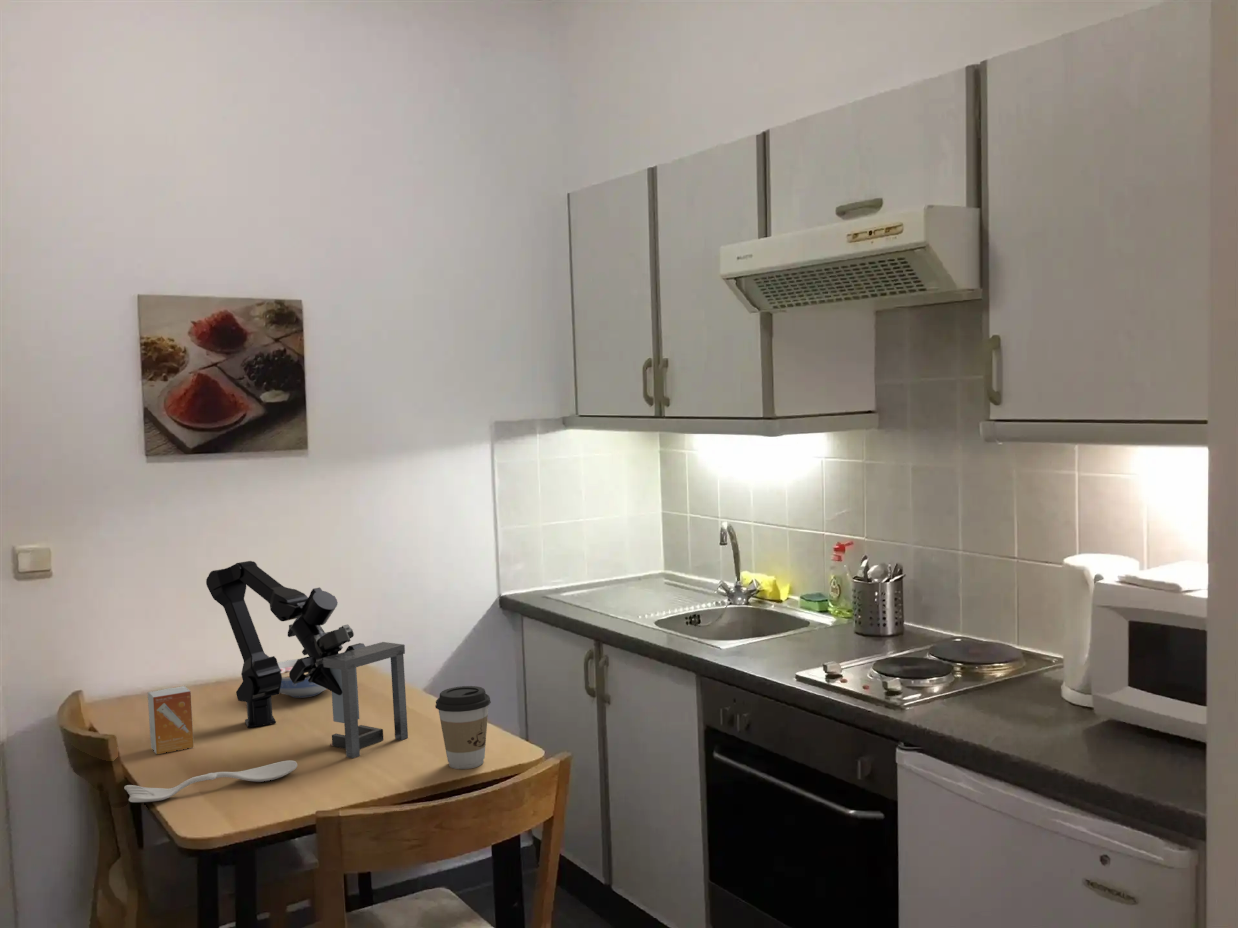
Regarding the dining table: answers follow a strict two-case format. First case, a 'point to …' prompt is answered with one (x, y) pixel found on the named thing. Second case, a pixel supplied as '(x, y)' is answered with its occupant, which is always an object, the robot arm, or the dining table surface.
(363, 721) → the dining table surface
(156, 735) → the small box
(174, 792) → the spoon
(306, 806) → the dining table surface
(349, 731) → the overhang seat
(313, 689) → the ramen bowl
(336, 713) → the blue-grey rectangular block
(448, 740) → the coffee cup
